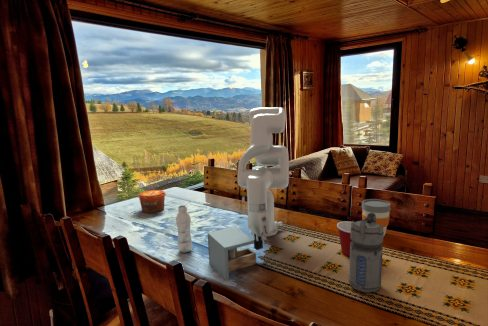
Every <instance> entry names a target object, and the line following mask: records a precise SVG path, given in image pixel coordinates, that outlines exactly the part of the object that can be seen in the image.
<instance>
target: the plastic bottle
mask: <svg viewBox="0 0 488 326" xmlns="http://www.w3.org/2000/svg"><path fill="white" fill-rule="evenodd" d="M177 209H178V210H177V212H178V213H177V214H176V217H175V223H176V224H175V225H176V227H177V250H178V251H179V252H180V253H183V254H186V253H189V252H191V251H192V249H193V241H192V236H191V235H192V234H191V221H192V220H191V219H192V217H191V216H190V214H189V213H188V207H187V205H179V206H177Z"/></svg>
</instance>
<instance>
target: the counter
mask: <svg viewBox="0 0 488 326" xmlns="http://www.w3.org/2000/svg"><path fill="white" fill-rule="evenodd" d="M207 245H208V247H207V249H208V262H209V264H210V266H212V268H214V269H215V271H216V272H217V273H218V274H219V275H220V276H221V277H222V278H223V279H224V280H225V281H226V282H227V281H229V280H230V272H229V266H228V250H230V249H234V248H235V251H238V248H241V247H245V246H250V245H254V239H253V237H251V236H249V235H248V234H247V233H245V232H243V231H241V229H239V228H238V227H236V226H232V227H228V228H223V229H219V230H214V231H209V232H207Z"/></svg>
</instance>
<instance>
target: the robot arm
mask: <svg viewBox="0 0 488 326" xmlns="http://www.w3.org/2000/svg"><path fill="white" fill-rule="evenodd" d="M248 119H249V123H250V145H249V147H248V148H247V149H246V150H245V151H244V153H242V155H241V157H240V159H239V162H238V166H237V167H238V168H237V184H238V186H240V188H244V189H246V194H247V195H246V197H247V227H248V230H250V231H251V234H252V239H253V240H254V244H253V249H255V251H259V250H261V249H263V248H264V240H267V237H268V238H269V237H273V236H275V235H277V233H278V227H280V226H283V221H277V220H275V201H274V200H275V198H274V194H273V193H272V192H271V190H272V189H286V188H287V187H288V186H289V182H290V172H289V171H290V170H289V169H290V168H289V167H290V166H289V164H290V163H289V162H290V161H289V160H290V159H289V158H290V156H289V150H288V148H287V147H286V146H285V145H274V143H273V142H274V138H273V136H274V135H273V134H281V133H284V130H285V129H286V121H287V113H286V110H285V108H284V107H281V106H280V107H278V106H277V107H276V106H275V107H255V108H252V109H251V110H250V111H249V112H248ZM252 159H254V161H255V164H256V165H258V166H277V167H278V168H277V167H276V168H275V167H270V168H269V167H260V168H256V169H246V167H247V165H248V163H249V162H250V161H251V160H252ZM270 189H271V190H270Z"/></svg>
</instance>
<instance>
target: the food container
mask: <svg viewBox="0 0 488 326" xmlns="http://www.w3.org/2000/svg"><path fill="white" fill-rule="evenodd" d="M166 195H167V194H166V192H165V191H164V190H161V189H151V190H150V189H149V190H145V191H141V192H140V193H139V194H138V195H137V198H138V199H139V203H140V206H141V208H140V209H141V211H142V213H145V214H155V213H159V212H162V211H163V210H164V209H165V198H166Z"/></svg>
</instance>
